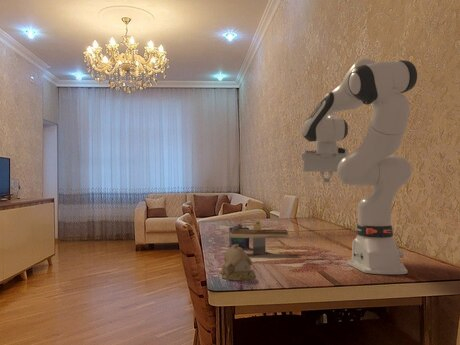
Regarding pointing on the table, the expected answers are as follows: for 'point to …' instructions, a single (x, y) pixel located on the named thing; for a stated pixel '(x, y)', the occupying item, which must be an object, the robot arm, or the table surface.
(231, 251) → the ceramic model
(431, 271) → the table surface
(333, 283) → the table surface
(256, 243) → the beam
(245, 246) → the flask
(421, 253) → the table surface
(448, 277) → the table surface
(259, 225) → the rider
